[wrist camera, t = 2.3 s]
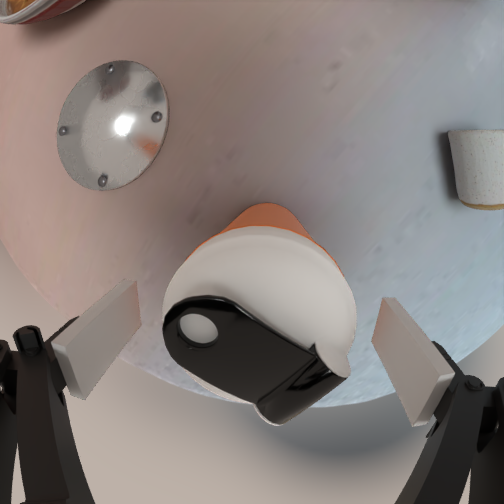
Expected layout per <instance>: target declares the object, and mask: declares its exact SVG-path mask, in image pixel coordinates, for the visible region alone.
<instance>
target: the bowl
mask: <svg viewBox="0 0 504 504" xmlns="http://www.w3.org/2000/svg"><path fill="white" fill-rule="evenodd" d="M84 1H86V0H0V23H5V24H30V23H34V22H38V21H42V20H47V19H50V18H52V17H55V16H57V15H60V14H62V13H65V12H67V11H69V10H71V9H73V8H75V7H77V6H78V5H80V4H81V3H83V2H84Z"/></svg>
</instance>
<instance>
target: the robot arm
mask: <svg viewBox="0 0 504 504" xmlns="http://www.w3.org/2000/svg"><path fill="white" fill-rule="evenodd" d="M140 326H141V317H140V310H139V302H138V293H137V283H136V281H135V280H127V279H124V280H123V281H121V282H120V283H119V284H118V285H116V286H115V287H114V288H113V289H112V290H110V291H109V292H108V293H107V294H106V295H104V296H103V297H102V298H101V299H100V300H98V301H97V302H96V303H95V304H94V305H93V306H91V307H90V308H89V309H88V310H87V311H86V312H84V313H83V314H82V315H81V316H78V317H75V318H73V319H71V320H69V321H68V322H67V323H66V324H65V325H64V326H63V327H62V328H60V329H59V331H57V332H55V333H54V334H53V335H52V336H51V337H50V338H49V339H48V340H46V341H45V342H44V341H43V338H42V335H41V332H40V328H38V327H37V326H32V325H30V326H24V327H22V328H19V329H18V330H16V331H15V332H14V334H13V338H14V341H15V344H16V346H17V349H18V351H11V350H10V348H9V345H8V342H7V341H5V340H0V385H1V387H2V391H1V390H0V504H11V493H12V480H13V471H14V463H15V455H16V449H17V443H18V450H19V460H20V468H21V474H22V480H23V486H24V492H25V497H26V500H25V502H23V503H20V504H95V502H94V500H93V497H92V494H91V492H90V489H89V486H88V483H87V481H86V478H85V475H84V472H83V469H82V465H81V462H80V459H79V456H78V452H77V449H76V445H75V441H74V437H73V433H72V429H71V425H70V420H69V416H68V410H67V405H66V400H65V395H64V393H63V391H62V390H63V389H64V388H65V386H66V385H67V387H68V389H69V392H70V394H71V395H72V396H74V397H77V398H80V399H82V400H85V399H86V398H87V397H88V395H89V394H90V392H91V391H92V390H93V388H94V387H95V386H96V384H97V383H98V381H99V380H100V379H101V377H102V376H103V375H104V373H105V372H106V370H107V369H108V368H109V367H110V365H111V364H112V363H113V361H114V360H115V359H116V357H117V356H118V355H119V353H120V352H121V351H122V349H123V348H124V347H125V345H126V344H127V343H128V341H129V340H130V339H131V338H132V336H133V335H134V334H135V332H136V331H137V330H138V329H139V327H140ZM371 342H372V344H373V346H374V347H375V349H376V351H377V353H378V355H379V357H380V359H381V361H382V363H383V365H384V367H385V369H386V371H387V373H388V376H389V378H390V380H391V382H392V384H393V386H394V388H395V390H396V392H397V394H398V396H399V399H400V401H401V403H402V405H403V407H404V409H405V412H406V414H407V416H408V418H409V421H410V423H411V425H412V426H413V427H414V426H419V425H424V424H427V423H428V422H429V420H430V418H431V417H432V415H433V414H434V416H435V417H436V419H437V420H436V422H435V423H434V425H433V426H432V428H431V430H430V431H429V433H428V434H427V436H426V438H428V439H427V442H426V444H425V446H424V449H423V451H422V453H421V455H420V458H419V460H418V461H417V464H416V466H415V468H414V470H413V472H412V474H411V476H410V477H409V479H408V481H407V483H406V485H405V487H404V488H403V490H402V492H401V494H400V495H399V497H398V499H397V501H396V502H395V504H459V502H460V499H461V496H462V493H463V490H464V488H465V485H466V482H467V478H468V475H469V472H470V468H471V478H470V493H469V503H468V504H504V377H503V378H501V379H500V380H499V381H498V384H497V385H496V387H485V385H484V384H483V382H482V381H481V380H480V379H479V378H477V377H475V376H471V375H464V374H463V372H462V371H461V370H460V368H459V367H458V366H457V365H456V363H455V362H454V361H453V360H452V358H451V357H450V356H449V354H447V352H446V351H445V349H444V348H443V347H442V346H441V345H439V344H438V343H436V342H435V341H430V339H429V338H428V337H427V336H426V334H425V333H424V332H423V331H422V329H421V328H420V327H419V326H418V324H417V323H416V322H415V321H414V320H413V318H412V317H411V316H410V315H409V314H408V312H407V311H406V310H405V309H404V308H403V307H402V305H401V304H400V303H399V302H398V301H397V300H396V298H382V302H381V307H380V311H379V315H378V319H377V323H376V326H375V330H374V334H373V337H372V341H371ZM497 427H498V428H497Z"/></svg>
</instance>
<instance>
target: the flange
mask: <svg viewBox="0 0 504 504" xmlns="http://www.w3.org/2000/svg"><path fill="white" fill-rule="evenodd" d="M168 122H169V103H168V98H167V94H166V91H165V89H164V86H163V84H162V83H161V81H160V80H159V78H158V77H157V76H156V75H155V74H154V73H153V72H152V71H150V70H149V69H148V68H146V67H145V66H143V65H141V64H139V63H136V62H133V61H126V60H125V61H113V62H109V63H106V64H103V65H101V66H99V67H97V68H95V69H94V70H92V71H90V72H89V73H88V74H87V75H85V76H84V77H83V78H82V79H81V80H80V81H79V82H78V83H77V84H76V86H75V87H74V88H73V89H72V91H71V92H70V94H69V95H68V97H67V99H66V101H65V103H64V105H63V108H62V110H61V113H60V117H59V121H58V127H57V147H58V152H59V156H60V159H61V162H62V164H63V166H64V168H65V170H66V171H67V173H68V174H69V175H70V176H71V177H72V179H74V180H75V181H76V182H77V183H79V184H80V185H82V186H84V187H86V188H89V189H93V190H102V191H103V190H111V189H115V188H119V187H122V186H124V185H127V184H129V183H130V182H132V181H134V180H135V179H136V178H138V177H139V176H140V175H141V174H142V173H143V172H144V171H145V170H146V169H147V168H148V167H149V166H150V165H151V163H152V162H153V161H154V159H155V158H156V156H157V155H158V153H159V151H160V149H161V147H162V145H163V142H164V139H165V136H166V133H167V128H168Z"/></svg>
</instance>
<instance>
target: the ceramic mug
mask: <svg viewBox="0 0 504 504" xmlns="http://www.w3.org/2000/svg"><path fill="white" fill-rule="evenodd" d="M448 137H449V141H450V147H451V153H452V159H453V165H454V171H455V181H456V188H457V192H458V196H459V199H460V201H461V202H462V203H463V204H464V205H465V206H468V207H470V208H474V209H480V210H500V209H504V130H458V131H456V130H455V131H448Z"/></svg>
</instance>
